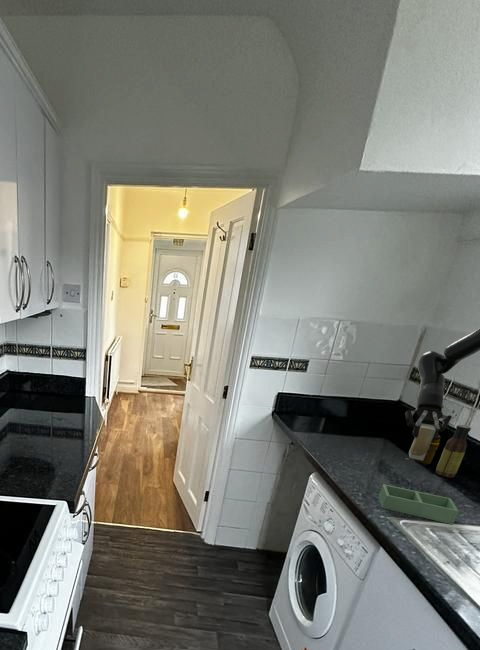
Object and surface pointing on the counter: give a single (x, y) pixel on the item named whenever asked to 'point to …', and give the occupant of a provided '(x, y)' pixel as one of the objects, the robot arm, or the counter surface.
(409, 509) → the holder
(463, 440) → the sauce bottle
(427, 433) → the cosmetic box
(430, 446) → the condiment
